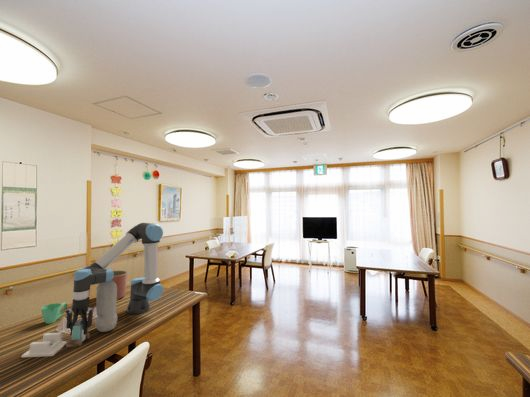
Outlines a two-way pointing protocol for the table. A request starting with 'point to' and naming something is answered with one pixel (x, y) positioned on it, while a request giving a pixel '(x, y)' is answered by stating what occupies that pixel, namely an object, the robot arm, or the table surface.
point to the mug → (52, 312)
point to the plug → (77, 330)
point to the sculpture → (106, 306)
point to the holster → (76, 342)
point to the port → (46, 346)
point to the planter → (120, 282)
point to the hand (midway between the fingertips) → (78, 340)
